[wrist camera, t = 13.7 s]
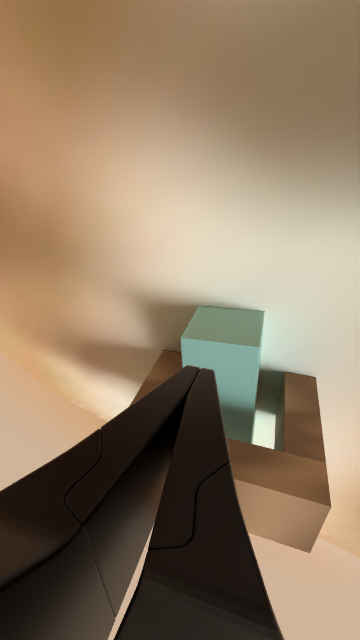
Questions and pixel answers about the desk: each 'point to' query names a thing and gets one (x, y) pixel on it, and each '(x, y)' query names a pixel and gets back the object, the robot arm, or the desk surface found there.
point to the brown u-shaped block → (276, 463)
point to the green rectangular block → (228, 361)
